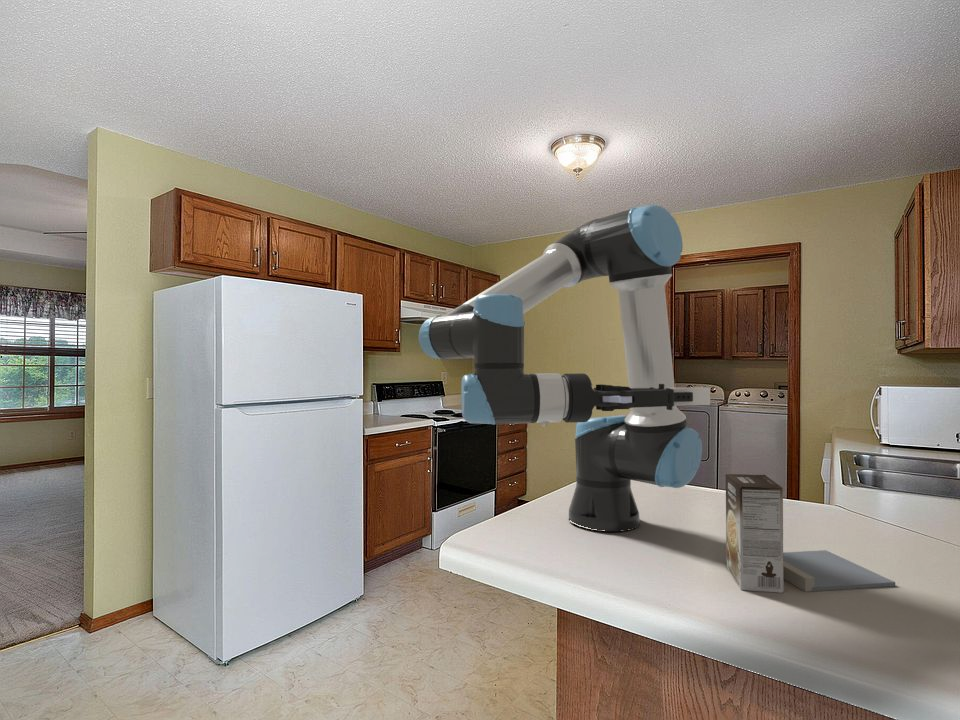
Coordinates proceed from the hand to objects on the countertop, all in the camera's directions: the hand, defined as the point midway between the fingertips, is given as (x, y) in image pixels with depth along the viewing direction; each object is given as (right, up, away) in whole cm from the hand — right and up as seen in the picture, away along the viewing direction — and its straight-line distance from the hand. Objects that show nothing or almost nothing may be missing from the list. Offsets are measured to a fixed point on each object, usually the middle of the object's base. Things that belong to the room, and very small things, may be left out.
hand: (707, 396), depth 83 cm
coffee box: (+8, -30, +1) cm, 31 cm away
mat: (+20, -29, +4) cm, 36 cm away
